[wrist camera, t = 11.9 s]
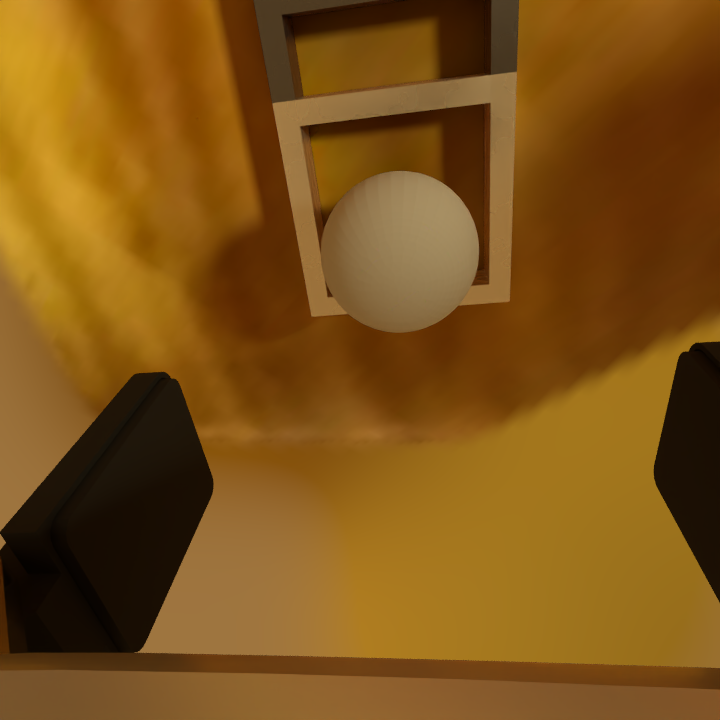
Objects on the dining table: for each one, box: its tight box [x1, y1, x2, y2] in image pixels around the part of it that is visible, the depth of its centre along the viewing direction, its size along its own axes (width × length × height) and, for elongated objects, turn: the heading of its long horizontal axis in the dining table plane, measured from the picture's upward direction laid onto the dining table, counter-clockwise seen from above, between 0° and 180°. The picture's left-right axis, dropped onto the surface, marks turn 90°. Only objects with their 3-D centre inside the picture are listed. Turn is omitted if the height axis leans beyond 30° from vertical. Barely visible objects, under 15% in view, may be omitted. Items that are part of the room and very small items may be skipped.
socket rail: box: [253, 0, 519, 317], centre depth 21 cm, size 10×23×2 cm, turn 7°
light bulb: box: [321, 171, 479, 333], centre depth 21 cm, size 6×6×10 cm
